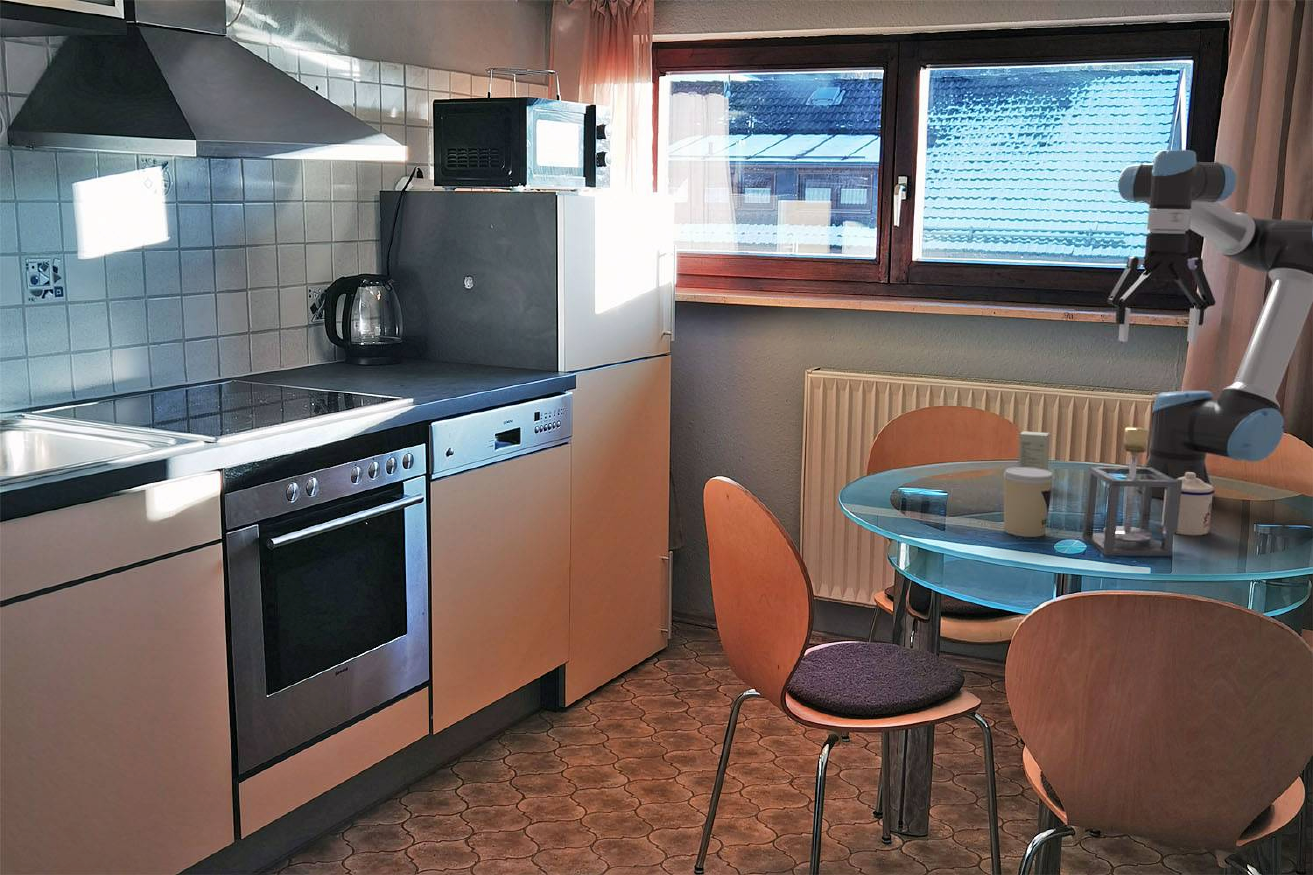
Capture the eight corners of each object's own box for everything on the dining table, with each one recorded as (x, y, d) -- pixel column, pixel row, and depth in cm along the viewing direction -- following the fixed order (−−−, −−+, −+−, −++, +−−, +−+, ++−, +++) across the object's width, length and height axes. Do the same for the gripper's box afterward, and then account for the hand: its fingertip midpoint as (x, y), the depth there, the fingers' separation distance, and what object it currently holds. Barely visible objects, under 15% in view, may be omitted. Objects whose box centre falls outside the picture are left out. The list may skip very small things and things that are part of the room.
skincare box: (1047, 485, 274) (1051, 432, 272) (1044, 488, 270) (1048, 435, 268) (1018, 481, 277) (1022, 430, 274) (1015, 485, 273) (1019, 433, 271)
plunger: (1140, 530, 228) (1150, 425, 224) (1158, 542, 220) (1169, 433, 216) (1096, 529, 228) (1105, 424, 224) (1112, 541, 220) (1122, 433, 216)
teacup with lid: (1214, 537, 232) (1221, 479, 229) (1164, 534, 234) (1170, 476, 231) (1200, 522, 243) (1206, 466, 241) (1153, 519, 245) (1158, 463, 243)
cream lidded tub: (1052, 539, 229) (1057, 478, 226) (1001, 536, 231) (1005, 475, 228) (1046, 527, 238) (1051, 468, 235) (997, 523, 240) (1002, 465, 237)
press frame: (1160, 538, 230) (1167, 467, 228) (1188, 556, 219) (1195, 482, 216) (1082, 537, 230) (1088, 466, 228) (1105, 555, 219) (1112, 480, 216)
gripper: (1110, 231, 227) (1101, 342, 231) (1241, 233, 228) (1229, 344, 232) (1096, 230, 235) (1087, 338, 239) (1222, 232, 235) (1211, 340, 239)
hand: (1157, 341), depth 235 cm, fingers open, 13 cm apart
